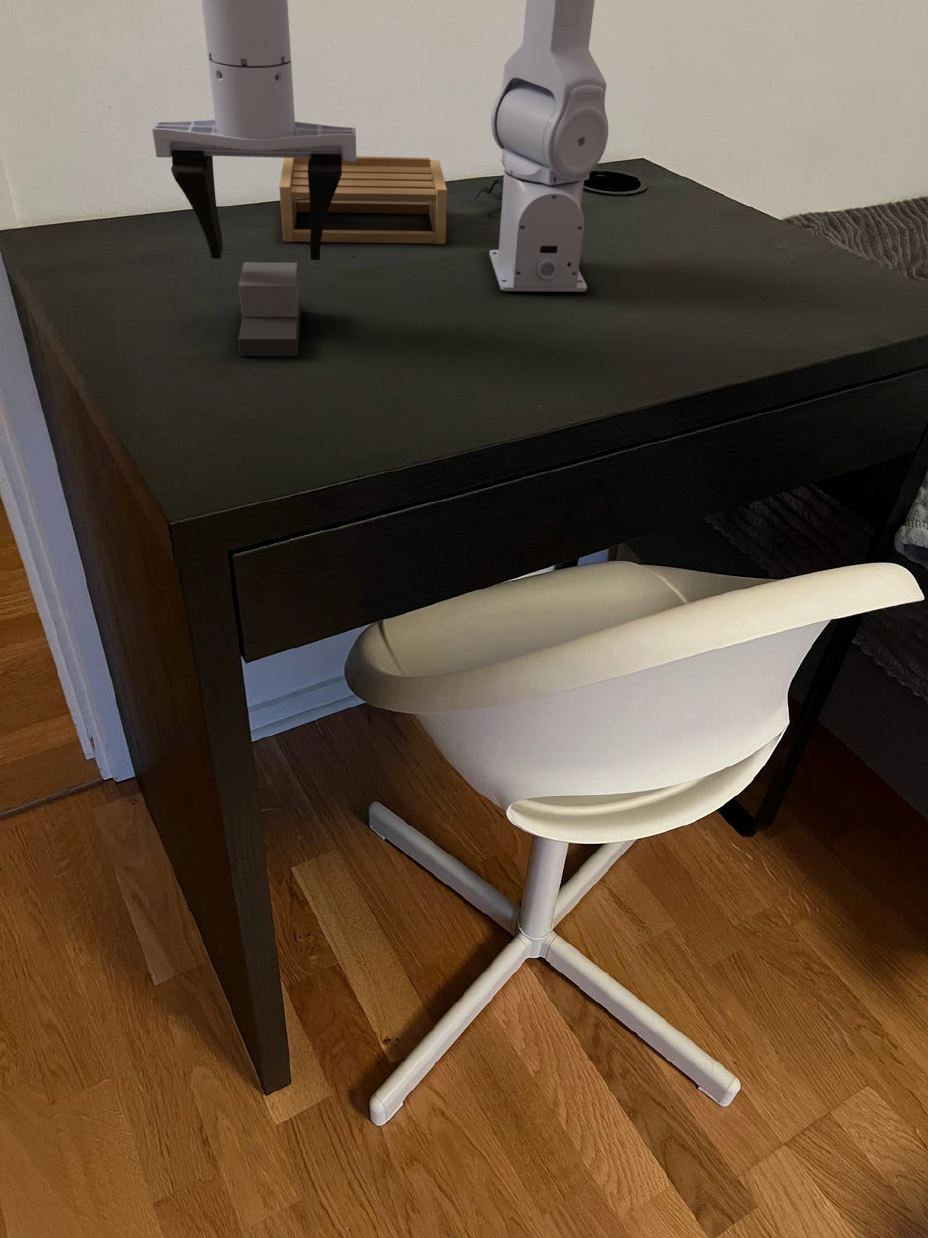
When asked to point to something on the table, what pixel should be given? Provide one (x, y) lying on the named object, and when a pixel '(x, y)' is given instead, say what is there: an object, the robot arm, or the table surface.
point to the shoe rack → (370, 197)
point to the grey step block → (269, 309)
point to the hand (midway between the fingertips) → (266, 254)
